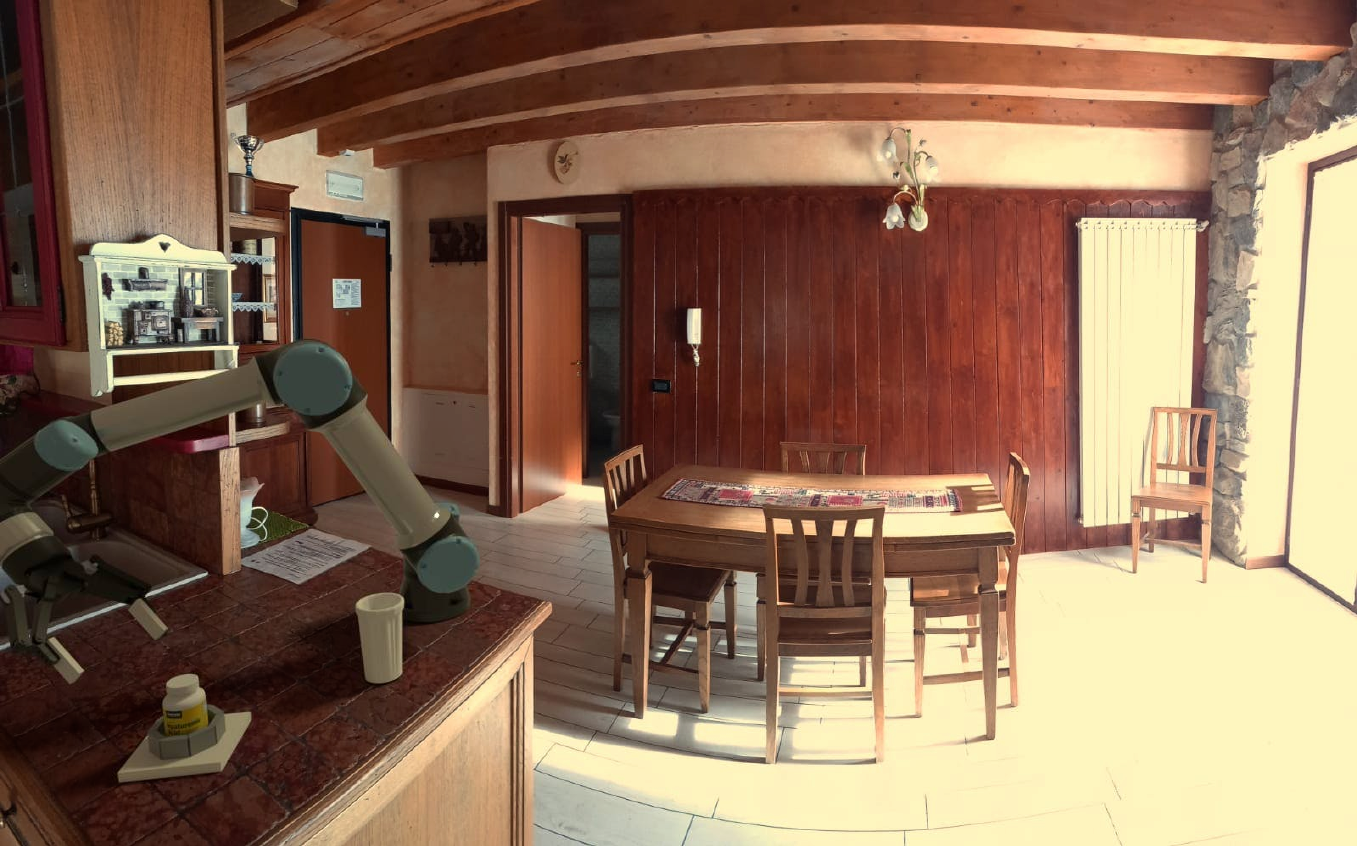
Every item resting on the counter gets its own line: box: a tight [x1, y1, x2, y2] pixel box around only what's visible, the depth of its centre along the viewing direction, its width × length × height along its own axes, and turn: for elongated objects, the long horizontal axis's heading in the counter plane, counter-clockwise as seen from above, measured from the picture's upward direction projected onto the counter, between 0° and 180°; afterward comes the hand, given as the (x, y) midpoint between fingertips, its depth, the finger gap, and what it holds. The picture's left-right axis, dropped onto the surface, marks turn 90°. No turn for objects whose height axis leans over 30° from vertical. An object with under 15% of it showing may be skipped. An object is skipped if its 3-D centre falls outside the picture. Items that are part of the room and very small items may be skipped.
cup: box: [355, 592, 404, 684], centre depth 133 cm, size 8×8×14 cm
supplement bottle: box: [162, 673, 208, 737], centre depth 111 cm, size 5×5×10 cm
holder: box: [117, 704, 252, 783], centre depth 112 cm, size 13×13×4 cm
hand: (122, 654), depth 112 cm, fingers open, 13 cm apart
